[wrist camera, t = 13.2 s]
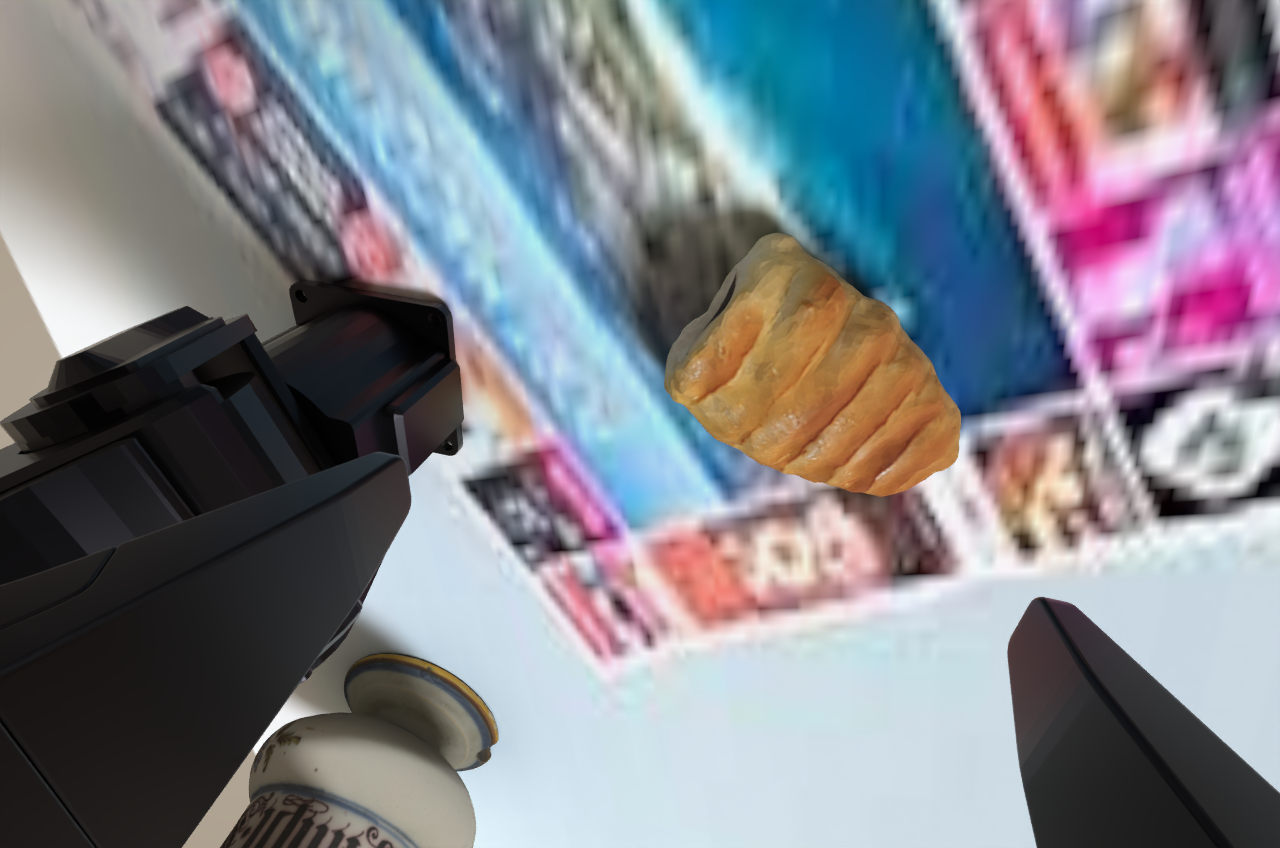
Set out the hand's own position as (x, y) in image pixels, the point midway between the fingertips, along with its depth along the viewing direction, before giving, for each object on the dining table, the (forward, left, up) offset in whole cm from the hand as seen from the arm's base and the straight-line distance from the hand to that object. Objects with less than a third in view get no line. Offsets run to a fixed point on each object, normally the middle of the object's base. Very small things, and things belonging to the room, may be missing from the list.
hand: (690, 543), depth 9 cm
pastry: (+2, -3, -14) cm, 14 cm away
